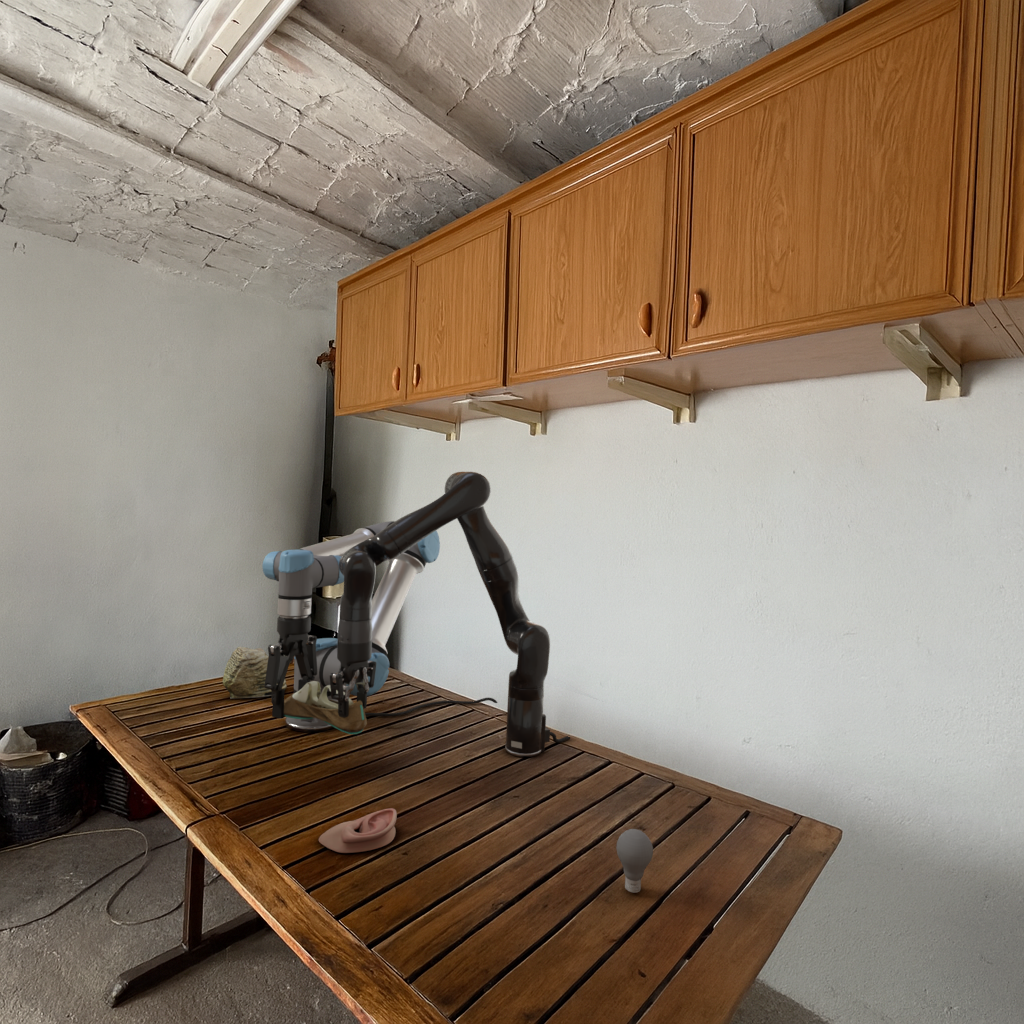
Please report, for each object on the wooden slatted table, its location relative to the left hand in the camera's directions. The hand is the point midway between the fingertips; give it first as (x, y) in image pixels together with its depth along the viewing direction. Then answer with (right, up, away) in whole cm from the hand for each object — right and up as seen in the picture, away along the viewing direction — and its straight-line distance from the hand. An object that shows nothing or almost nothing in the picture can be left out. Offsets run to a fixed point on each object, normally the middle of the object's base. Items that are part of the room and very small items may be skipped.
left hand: (290, 711), depth 150 cm
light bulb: (+72, -16, -44) cm, 86 cm away
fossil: (-28, -10, +48) cm, 57 cm away
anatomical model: (+24, -14, -31) cm, 42 cm away
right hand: (+16, +2, -7) cm, 18 cm away
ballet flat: (+8, -1, -3) cm, 9 cm away
